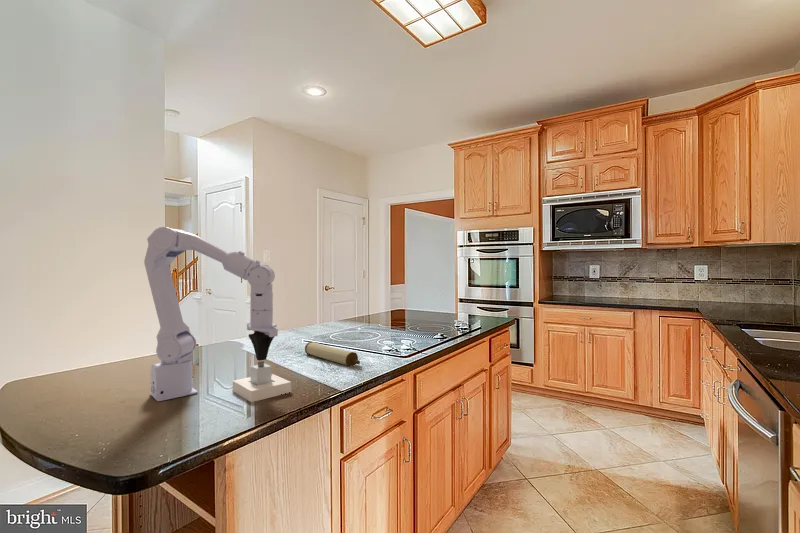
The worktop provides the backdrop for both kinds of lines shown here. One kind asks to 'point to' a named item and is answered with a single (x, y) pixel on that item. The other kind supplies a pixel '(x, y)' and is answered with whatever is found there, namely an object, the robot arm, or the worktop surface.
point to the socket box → (261, 388)
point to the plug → (260, 373)
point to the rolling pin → (332, 354)
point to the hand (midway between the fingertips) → (261, 359)
